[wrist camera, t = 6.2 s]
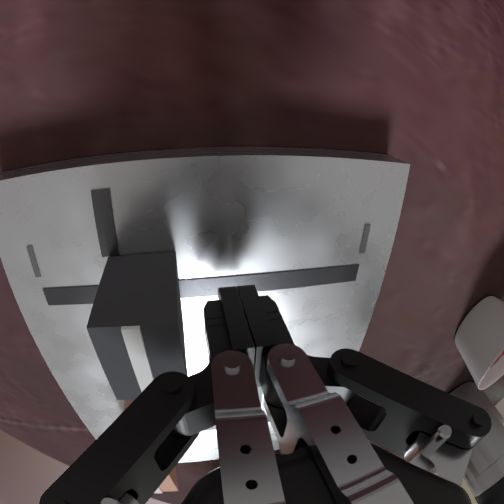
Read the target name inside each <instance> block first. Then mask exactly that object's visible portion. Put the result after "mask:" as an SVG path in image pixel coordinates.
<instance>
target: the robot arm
mask: <svg viewBox="0 0 504 504" xmlns="http://www.w3.org/2000/svg"><path fill="white" fill-rule="evenodd" d="M203 316H204V331H205V340H206V346H207V353H208V359H209V363H208V365H207V366H206V367H205V368H204V369H203V370H202V371H200V372H198V373H196V374H194V375H191V376H187V375H185V374H183V373H181V372H175V371H170V372H165V373H162V374H160V375H159V376H157V377H156V378H155V379H154V380H153V381H152V382H151V383H150V384H149V385H148V386H147V387H146V388H145V389H144V390H143V391H142V393H141V394H140V395H139V396H138V397H137V398H136V399H135V400H134V401H133V402H132V403H131V404H130V405H129V406H128V407H127V408H126V409H125V410H124V411H123V412H122V413H121V415H120V416H119V417H118V418H117V419H116V420H115V421H114V422H113V423H112V424H111V425H110V426H109V427H108V428H107V429H106V430H105V431H104V432H103V433H102V434H101V435H100V436H99V437H98V438H97V439H96V440H95V441H94V442H93V443H92V445H91V446H90V447H89V448H88V449H87V450H86V451H85V452H84V453H83V454H82V455H81V456H80V457H79V458H78V459H77V460H76V461H75V462H74V463H73V464H72V465H71V466H70V467H69V468H68V469H67V470H66V471H65V472H64V473H63V474H62V475H61V476H60V477H59V478H58V479H57V480H56V481H55V482H54V483H53V484H52V485H51V486H50V487H49V488H48V489H47V490H46V491H45V492H44V494H43V495H42V496H41V499H40V503H39V504H145V503H146V502H147V501H148V499H149V498H150V497H151V496H152V495H153V494H154V492H155V491H156V490H157V489H158V487H159V486H160V485H161V484H162V482H163V481H164V480H165V479H166V477H167V476H168V475H169V474H170V472H171V471H172V470H173V468H174V467H175V466H176V465H177V463H178V462H179V461H180V459H181V458H182V457H183V455H184V454H185V453H186V451H187V450H188V449H189V448H190V446H191V445H192V444H193V442H194V441H195V440H196V438H197V437H198V435H199V433H200V432H201V431H204V430H206V429H209V428H211V427H213V426H216V433H217V443H218V453H219V463H220V467H218V468H216V469H214V470H212V471H210V472H209V473H207V474H206V475H204V476H203V477H202V478H201V479H199V480H198V481H197V483H196V484H195V485H194V486H193V487H192V489H191V490H190V492H189V493H188V495H187V496H186V498H185V499H184V501H183V502H182V504H471V500H470V498H469V496H468V494H467V493H466V491H465V490H464V489H463V488H462V487H460V486H461V484H462V481H463V479H464V480H465V482H466V483H467V485H468V487H469V489H470V490H471V492H472V494H473V496H474V497H475V499H476V501H477V503H478V504H504V426H503V423H504V418H503V417H502V416H501V414H500V413H499V412H498V410H497V409H496V407H495V406H494V405H493V403H492V402H491V401H490V399H489V398H488V397H487V395H486V394H485V393H484V391H483V390H479V389H478V387H477V385H476V383H475V381H474V382H466V383H464V384H462V385H461V386H459V387H458V388H456V389H455V390H453V391H452V392H451V393H450V394H449V393H446V392H444V391H442V390H440V389H437V388H435V387H433V386H431V385H428V384H426V383H424V382H422V381H420V380H417V379H415V378H413V377H411V376H409V375H407V374H404V373H402V372H400V371H398V370H396V369H394V368H392V367H389V366H387V365H385V364H383V363H381V362H379V361H377V360H375V359H373V358H371V357H369V356H366V355H364V354H362V353H360V352H358V351H356V350H353V349H348V348H344V349H339V350H337V351H335V352H334V353H333V354H332V356H331V358H324V357H314V356H309V355H307V354H306V353H305V352H304V350H303V349H301V348H300V347H298V346H296V345H295V344H294V342H293V340H292V337H291V335H290V333H289V331H288V329H287V326H286V324H285V322H284V320H283V317H282V315H281V313H280V311H279V309H278V306H277V304H276V302H275V301H274V300H272V299H271V298H270V297H269V296H268V295H265V296H259V295H258V292H257V290H256V287H255V285H243V286H232V287H220V288H218V300H210V301H207V302H206V304H205V306H204V308H203ZM257 387H261V389H262V392H263V398H262V403H263V406H264V408H265V411H266V413H267V416H268V418H269V421H270V423H271V426H272V428H273V430H274V433H275V435H276V438H277V440H278V443H279V450H280V454H275V453H274V448H273V444H272V439H271V434H270V430H269V425H268V420H267V416H266V413H265V411H264V410H262V408H261V404H260V399H259V394H258V389H257ZM355 393H356V394H355ZM357 394H358V395H357ZM359 395H360V396H359ZM361 396H362V397H361ZM363 397H364V398H363ZM365 398H366V399H365ZM367 399H368V400H367ZM369 400H370V401H369ZM371 401H372V402H371ZM373 402H374V403H373ZM375 403H376V404H375ZM377 404H378V405H377ZM379 405H380V406H379ZM381 406H382V407H381ZM368 440H370V441H372V442H374V443H376V444H378V445H380V446H382V447H385V448H387V449H389V450H391V451H393V452H395V453H397V454H400V455H402V456H404V457H405V460H403V459H401V458H399V457H397V456H395V455H393V454H391V453H389V452H387V451H385V450H384V449H382V448H380V447H378V446H376V445H374V444H371V443H370V442H369V441H368Z"/></svg>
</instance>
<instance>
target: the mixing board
mask: <svg viewBox="0 0 504 504" xmlns="http://www.w3.org/2000/svg"><path fill="white" fill-rule="evenodd" d="M409 168H410V164H409V163H407V162H404V161H402V160H400V159H397V158H395V157H393V156H390V155H388V154H379V153H369V152H359V151H347V150H333V149H317V148H294V147H202V148H180V149H163V150H149V151H138V152H127V153H117V154H108V155H100V156H92V157H84V158H77V159H70V160H64V161H57V162H51V163H45V164H40V165H34V166H29V167H24V168H19V169H14V170H9V171H5V172H1V173H0V257H1V260H2V263H3V266H4V269H5V272H6V275H7V278H8V280H9V283H10V286H11V288H12V291H13V293H14V296H15V298H16V301H17V303H18V306H19V308H20V310H21V313H22V315H23V317H24V319H25V321H26V324H27V326H28V328H29V330H30V332H31V334H32V336H33V338H34V340H35V342H36V344H37V346H38V348H39V350H40V352H41V354H42V356H43V358H44V360H45V362H46V363H47V365H48V367H49V369H50V371H51V372H52V374H53V376H54V377H55V379H56V381H57V383H58V384H59V386H60V388H61V389H62V391H63V392H64V394H65V396H66V397H67V399H68V400H69V402H70V403H71V405H72V406H73V408H74V409H75V411H76V412H77V414H78V415H79V417H80V418H81V420H82V421H83V423H84V424H85V425H86V427H87V428H88V429H89V431H90V432H91V434H92V435H93V436H94V438H95V439H97V438H98V437H99V436H100V435H101V434H102V433H103V432H104V431H105V430H106V429H107V428H108V427H109V426H110V425H111V424H112V423H113V422H114V421H115V420H116V419H117V418H118V417H119V416H120V415H121V413H122V412H123V411H124V410H125V409H126V408H127V407H128V406H129V405H130V404H131V403H132V402H133V401H134V400H117V399H116V397H115V395H114V392H113V390H112V388H111V386H110V384H109V382H108V379H107V377H106V375H105V373H104V370H103V368H102V366H101V363H100V361H99V359H98V356H97V354H96V351H95V349H94V346H93V344H92V341H91V339H90V336H89V333H88V331H87V328H86V327H87V324H88V320H89V316H90V313H91V309H92V306H93V303H94V299H95V296H96V293H97V289H98V286H99V283H100V280H101V277H102V274H103V271H104V268H105V265H106V262H107V259H108V257H113V256H127V255H141V254H155V253H169V252H176V259H177V270H178V280H179V290H180V299H181V307H182V316H183V324H184V338H185V350H186V361H187V372H188V376H191V375H194V374H196V373H198V372H200V371H202V370H203V369H204V368H205V367H206V366H207V365H208V363H209V359H208V353H207V346H206V340H205V331H204V316H203V308H204V306H205V304H206V302H207V301H210V300H218V288H220V287H232V286H243V285H255V287H256V290H257V292H258V295H259V296H265V295H268V296H269V297H270V298H271V299H272V300H274V301H275V302H276V304H277V306H278V309H279V311H280V313H281V315H282V317H283V320H284V322H285V324H286V326H287V329H288V331H289V333H290V335H291V337H292V340H293V342H294V344H295V345H296V346H298V347H300V348H301V349H303V350H304V352H305V353H306V354H307V355H309V356H314V357H324V358H331V356H332V354H333V353H334V352H335V351H337V350H339V349H344V348H348V349H353V350H356V351H358V352H359V350H360V347H361V344H362V342H363V339H364V336H365V333H366V331H367V328H368V325H369V322H370V319H371V316H372V313H373V310H374V307H375V304H376V301H377V298H378V295H379V292H380V288H381V285H382V282H383V278H384V275H385V272H386V268H387V265H388V261H389V257H390V254H391V250H392V246H393V242H394V238H395V234H396V230H397V226H398V222H399V217H400V213H401V208H402V204H403V199H404V194H405V189H406V184H407V179H408V173H409ZM257 389H258V394H259V399H260V404H261V408H262V410H264V411H265V408H264V406H263V403H262V398H263V392H262V389H261V387H257ZM265 413H266V411H265ZM266 416H267V413H266ZM267 420H268V425H269V430H270V434H271V439H272V444H273V448H274V450H279V443H278V440H277V438H276V435H275V433H274V430H273V428H272V426H271V423H270V421H269V418H268V416H267ZM216 459H219V453H218V443H217V433H216V426H213V427H211V428H209V429H206V430H204V431H201V432H200V433H199V435H198V437H197V438H196V440H195V441H194V442H193V444H192V445H191V446H190V448H189V449H188V450H187V451H186V453H185V454H184V455H183V457H182V458H181V459H180V461H179V462H178V463H182V462H196V461H207V460H216Z"/></svg>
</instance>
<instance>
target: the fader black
mask: <svg viewBox="0 0 504 504" xmlns="http://www.w3.org/2000/svg"><path fill="white" fill-rule="evenodd" d="M86 328H87V331H88V333H89V336H90V339H91V341H92V344H93V346H94V349H95V351H96V354H97V356H98V359H99V361H100V363H101V366H102V368H103V370H104V373H105V375H106V377H107V379H108V382H109V384H110V386H111V388H112V390H113V392H114V395H115V397H116V399H117V400H135V399H136V398H137V397H138V396H139V395H140V394H141V393H142V391H143V390H144V389H145V388H146V387H147V386H148V385H149V384H150V383H151V382H152V381H153V380H154V379H155V378H156V377H157V376H159V375H160V374H162V373H165V372H170V371H175V372H181V373H183V374H185V375H187V376H188V372H187V361H186V350H185V338H184V324H183V316H182V307H181V299H180V290H179V280H178V270H177V259H176V252H169V253H155V254H141V255H127V256H113V257H108V259H107V262H106V265H105V268H104V271H103V274H102V277H101V280H100V283H99V286H98V289H97V293H96V296H95V299H94V303H93V306H92V309H91V313H90V316H89V320H88V324H87V327H86Z"/></svg>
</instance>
